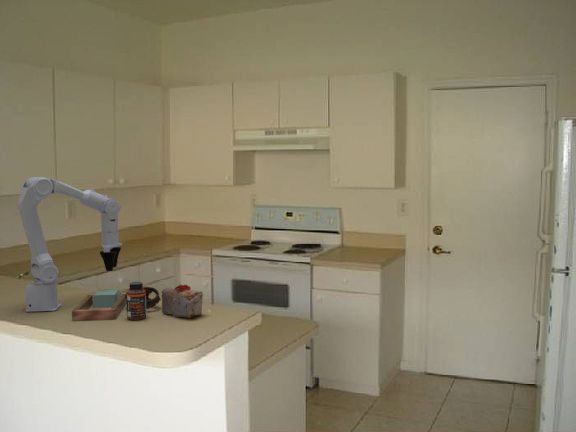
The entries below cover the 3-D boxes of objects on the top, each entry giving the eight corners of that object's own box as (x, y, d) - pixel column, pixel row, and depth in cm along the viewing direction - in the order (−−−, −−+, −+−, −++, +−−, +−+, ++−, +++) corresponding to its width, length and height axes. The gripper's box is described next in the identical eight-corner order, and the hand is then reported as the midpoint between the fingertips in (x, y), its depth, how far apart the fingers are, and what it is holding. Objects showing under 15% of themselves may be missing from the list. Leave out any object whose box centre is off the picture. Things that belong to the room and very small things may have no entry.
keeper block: (93, 308, 195) (93, 295, 195) (99, 301, 204) (99, 289, 204) (115, 307, 196) (114, 294, 196) (119, 301, 205) (119, 288, 204)
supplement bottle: (129, 321, 178) (128, 285, 176) (125, 317, 183) (123, 281, 182) (148, 319, 180) (147, 283, 179) (144, 314, 186) (142, 280, 184)
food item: (207, 315, 185) (206, 284, 184) (189, 321, 178) (189, 289, 177) (175, 309, 192) (174, 280, 191) (158, 315, 185) (157, 284, 185)
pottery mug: (161, 305, 200) (164, 287, 195) (154, 324, 192) (157, 305, 187) (127, 297, 199) (129, 279, 195) (118, 315, 191) (120, 297, 187)
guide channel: (72, 320, 179) (71, 311, 179) (88, 303, 200) (88, 295, 200) (115, 319, 180) (114, 309, 180) (126, 302, 202) (126, 294, 201)
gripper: (117, 233, 200) (119, 272, 202) (124, 229, 215) (126, 265, 216) (96, 234, 200) (98, 273, 201) (105, 229, 214) (106, 265, 215)
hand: (111, 269), depth 208 cm, fingers open, 6 cm apart
